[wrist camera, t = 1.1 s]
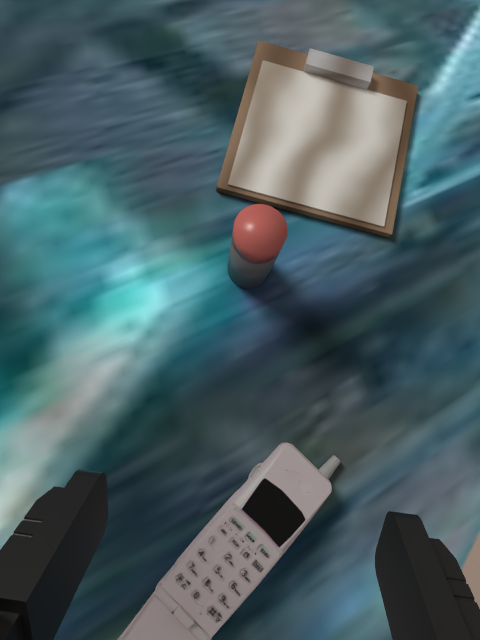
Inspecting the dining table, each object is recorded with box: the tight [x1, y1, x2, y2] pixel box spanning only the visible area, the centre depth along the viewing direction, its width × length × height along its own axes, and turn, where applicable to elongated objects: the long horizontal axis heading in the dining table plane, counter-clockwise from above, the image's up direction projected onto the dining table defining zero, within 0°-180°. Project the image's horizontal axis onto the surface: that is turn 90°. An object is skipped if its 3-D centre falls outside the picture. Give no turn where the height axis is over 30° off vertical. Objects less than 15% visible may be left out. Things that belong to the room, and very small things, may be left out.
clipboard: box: [216, 41, 418, 238], centre depth 40 cm, size 18×18×2 cm
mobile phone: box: [118, 443, 341, 640], centre depth 30 cm, size 6×6×25 cm
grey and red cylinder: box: [228, 204, 287, 289], centre depth 33 cm, size 4×4×9 cm
